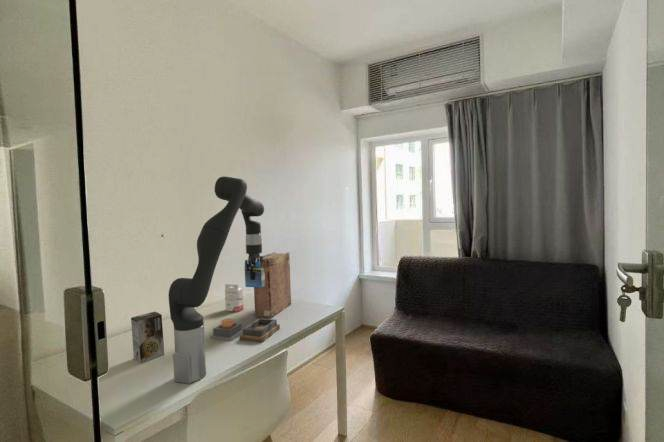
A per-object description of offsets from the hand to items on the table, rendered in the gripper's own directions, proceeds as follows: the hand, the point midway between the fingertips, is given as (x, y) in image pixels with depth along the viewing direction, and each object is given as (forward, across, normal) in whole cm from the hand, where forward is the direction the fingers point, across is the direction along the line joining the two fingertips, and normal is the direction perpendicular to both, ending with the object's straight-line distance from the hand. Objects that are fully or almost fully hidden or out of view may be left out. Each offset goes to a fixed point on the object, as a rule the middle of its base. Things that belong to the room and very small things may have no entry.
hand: (255, 278), depth 167 cm
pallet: (+22, -13, -8) cm, 27 cm away
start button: (+19, -16, +6) cm, 25 cm away
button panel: (+22, -16, +6) cm, 28 cm away
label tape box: (+4, 0, 0) cm, 4 cm away
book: (+22, +21, 0) cm, 30 cm away
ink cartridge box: (+22, +18, +22) cm, 36 cm away
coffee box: (+22, -42, +24) cm, 53 cm away
